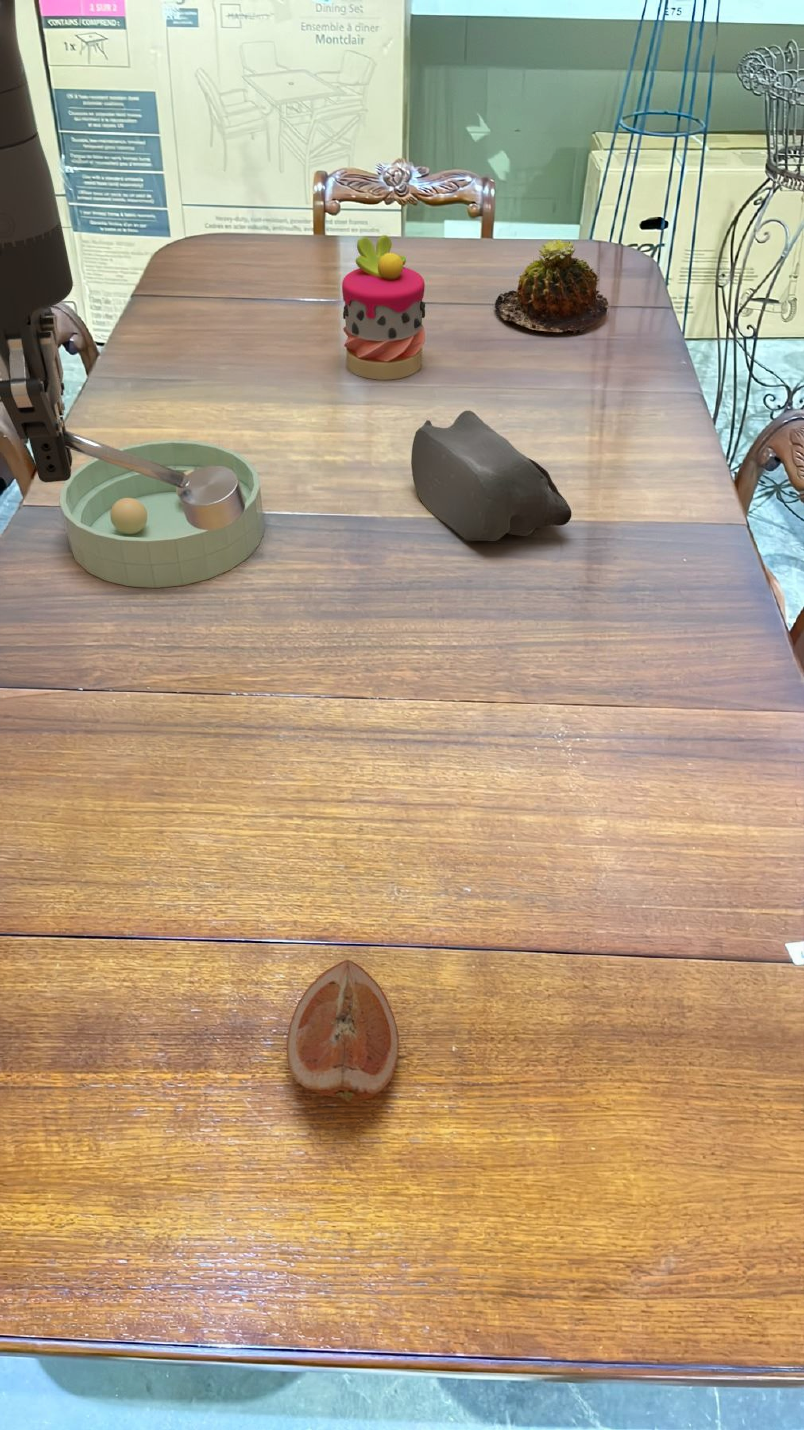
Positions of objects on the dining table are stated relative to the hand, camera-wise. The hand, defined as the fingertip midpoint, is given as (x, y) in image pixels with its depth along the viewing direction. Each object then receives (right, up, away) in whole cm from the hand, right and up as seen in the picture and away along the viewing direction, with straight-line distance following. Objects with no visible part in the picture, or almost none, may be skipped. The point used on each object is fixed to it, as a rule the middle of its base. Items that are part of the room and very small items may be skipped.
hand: (56, 472), depth 77 cm
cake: (+22, +28, +64) cm, 73 cm away
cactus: (+46, +40, +77) cm, 98 cm away
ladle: (+6, -2, +5) cm, 8 cm away
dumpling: (-1, +2, +30) cm, 30 cm away
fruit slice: (+21, -39, -11) cm, 45 cm away
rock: (+33, +5, +37) cm, 50 cm away
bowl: (+1, +1, +32) cm, 32 cm away
